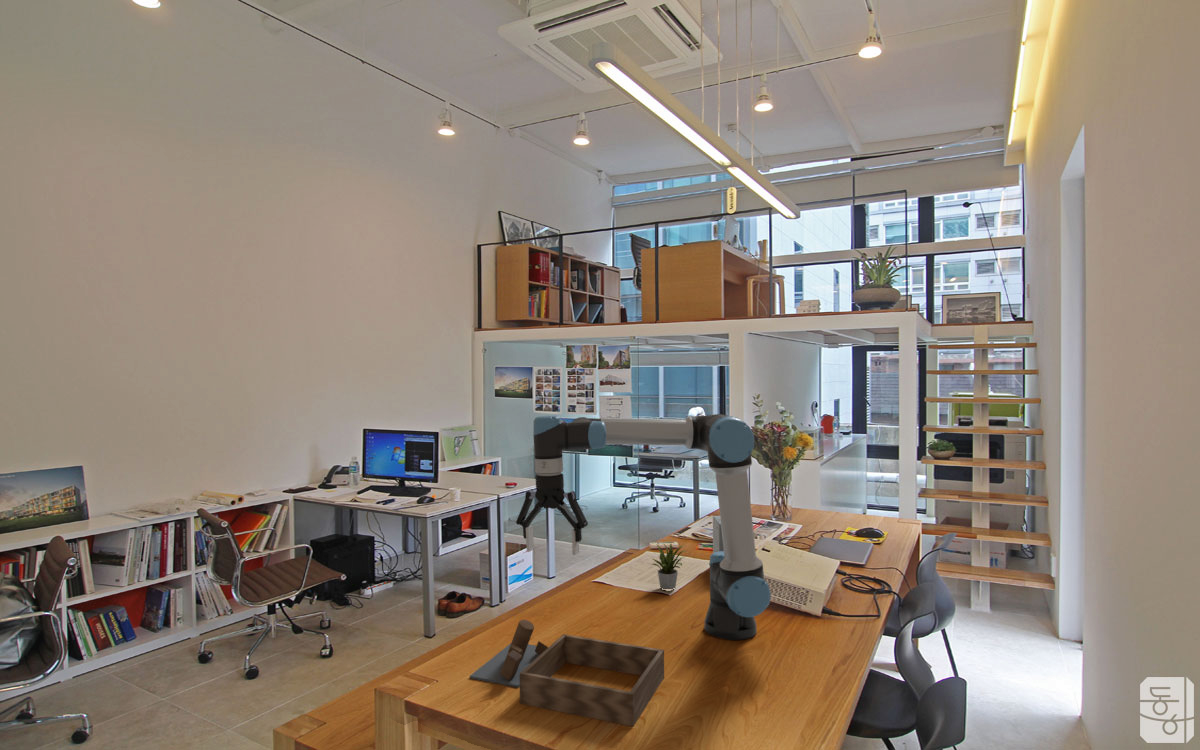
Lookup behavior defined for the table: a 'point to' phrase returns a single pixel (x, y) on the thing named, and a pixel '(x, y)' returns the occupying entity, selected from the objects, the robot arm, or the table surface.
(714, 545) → the hard drive box
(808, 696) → the table surface
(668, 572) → the house plant
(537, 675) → the crate
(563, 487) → the robot arm
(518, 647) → the wooden block set
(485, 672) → the mat
